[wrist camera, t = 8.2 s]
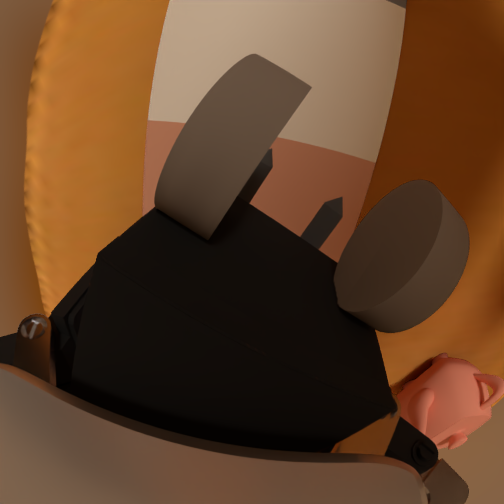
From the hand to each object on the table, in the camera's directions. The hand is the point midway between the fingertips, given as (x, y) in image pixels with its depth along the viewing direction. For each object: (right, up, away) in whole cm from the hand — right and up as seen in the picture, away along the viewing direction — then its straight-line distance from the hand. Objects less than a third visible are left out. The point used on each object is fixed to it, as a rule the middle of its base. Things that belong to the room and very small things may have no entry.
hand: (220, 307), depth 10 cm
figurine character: (0, +1, +1) cm, 1 cm away
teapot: (+23, -12, +15) cm, 30 cm away
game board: (+3, +14, +2) cm, 14 cm away
